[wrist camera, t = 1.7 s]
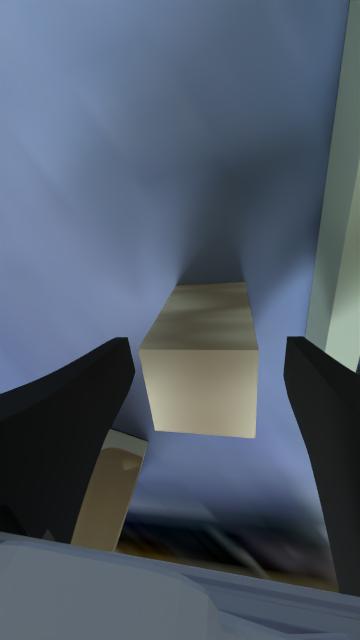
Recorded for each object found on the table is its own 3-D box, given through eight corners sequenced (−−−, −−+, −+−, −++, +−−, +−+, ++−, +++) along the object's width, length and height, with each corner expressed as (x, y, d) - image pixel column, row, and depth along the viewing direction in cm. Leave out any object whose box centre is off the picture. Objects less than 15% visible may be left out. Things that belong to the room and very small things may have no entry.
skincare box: (138, 478, 24) (66, 701, 14) (97, 464, 24) (-6, 674, 14) (150, 438, 21) (71, 685, 11) (103, 423, 21) (-22, 650, 11)
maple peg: (245, 282, 14) (258, 350, 8) (244, 342, 16) (254, 438, 9) (176, 285, 15) (138, 349, 8) (182, 342, 16) (155, 430, 10)
